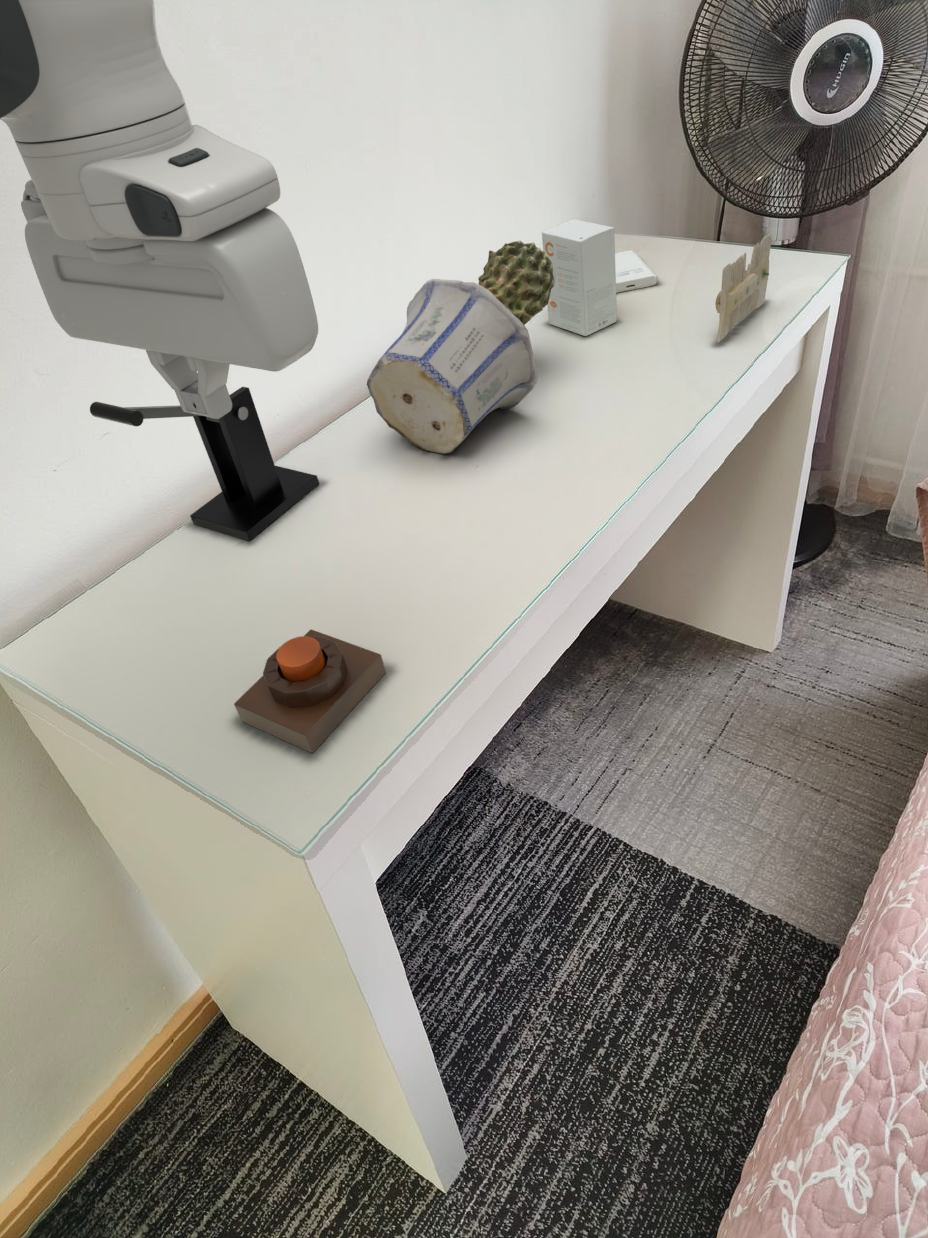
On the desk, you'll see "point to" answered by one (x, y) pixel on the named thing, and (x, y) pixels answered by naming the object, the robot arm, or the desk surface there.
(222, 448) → the bracket
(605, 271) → the small box
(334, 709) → the button block
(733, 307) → the wooden plank panel
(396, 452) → the desk surface
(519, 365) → the potted plant
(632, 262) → the hard drive
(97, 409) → the lever
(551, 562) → the desk surface
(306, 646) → the button
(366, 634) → the desk surface
